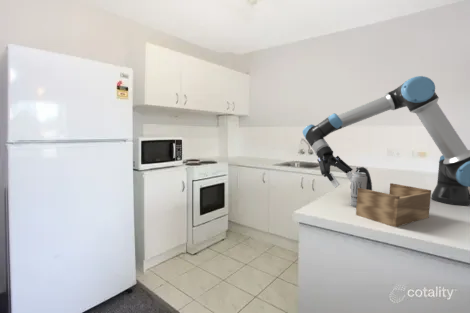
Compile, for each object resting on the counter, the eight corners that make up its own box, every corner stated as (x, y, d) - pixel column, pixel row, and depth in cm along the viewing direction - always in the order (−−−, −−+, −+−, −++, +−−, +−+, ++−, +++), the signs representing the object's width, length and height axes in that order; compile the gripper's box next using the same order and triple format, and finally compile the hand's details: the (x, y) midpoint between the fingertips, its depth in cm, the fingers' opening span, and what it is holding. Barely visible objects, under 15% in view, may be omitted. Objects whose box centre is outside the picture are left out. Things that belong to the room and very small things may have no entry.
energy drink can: (348, 206, 113) (350, 172, 112) (352, 203, 118) (354, 171, 116) (362, 209, 109) (365, 174, 108) (366, 206, 114) (368, 173, 113)
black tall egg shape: (364, 193, 139) (366, 166, 137) (375, 198, 128) (378, 168, 127) (346, 193, 138) (347, 165, 137) (356, 198, 128) (358, 168, 126)
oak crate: (355, 214, 101) (357, 188, 100) (389, 207, 113) (391, 183, 112) (395, 227, 88) (397, 196, 87) (428, 217, 100) (431, 190, 99)
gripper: (334, 154, 138) (357, 187, 126) (300, 155, 125) (323, 191, 114) (343, 145, 133) (368, 178, 121) (309, 145, 120) (334, 182, 109)
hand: (346, 185), depth 118 cm, fingers open, 13 cm apart
